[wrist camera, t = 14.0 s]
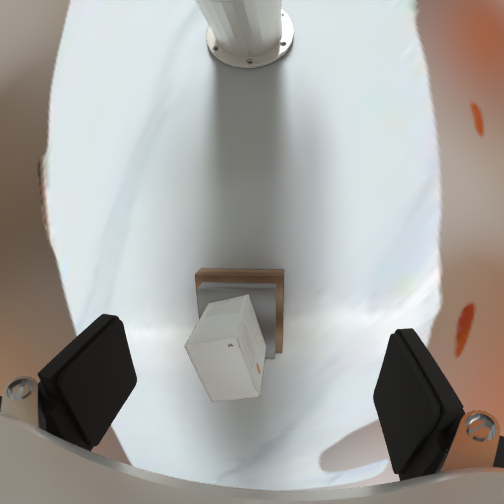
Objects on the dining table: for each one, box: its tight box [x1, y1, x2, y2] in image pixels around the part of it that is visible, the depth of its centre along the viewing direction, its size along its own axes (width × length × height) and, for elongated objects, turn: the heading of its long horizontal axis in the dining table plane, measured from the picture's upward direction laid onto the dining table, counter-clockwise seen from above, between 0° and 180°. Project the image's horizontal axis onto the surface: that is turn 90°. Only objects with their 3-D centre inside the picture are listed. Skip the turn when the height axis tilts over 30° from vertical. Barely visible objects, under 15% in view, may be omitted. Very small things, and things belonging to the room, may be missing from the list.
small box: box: [185, 294, 266, 402], centre depth 32 cm, size 8×6×10 cm
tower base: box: [195, 268, 284, 359], centre depth 40 cm, size 12×12×6 cm
